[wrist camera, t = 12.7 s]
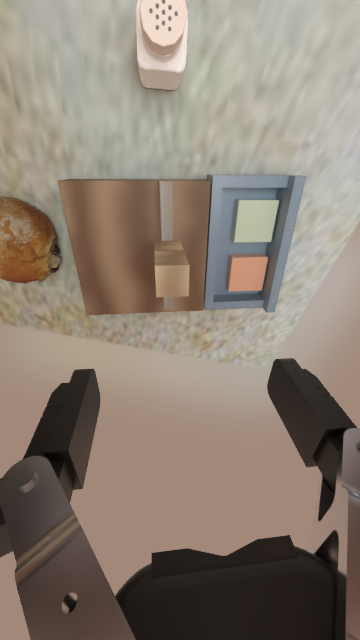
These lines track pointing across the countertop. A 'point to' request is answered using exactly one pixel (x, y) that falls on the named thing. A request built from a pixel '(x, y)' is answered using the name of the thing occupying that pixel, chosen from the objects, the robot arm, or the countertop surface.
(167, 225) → the long tan wooden block
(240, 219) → the sage tile
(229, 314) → the countertop surface
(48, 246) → the bread roll
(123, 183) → the board
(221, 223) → the tray
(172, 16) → the pepper shaker
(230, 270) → the terracotta tile
